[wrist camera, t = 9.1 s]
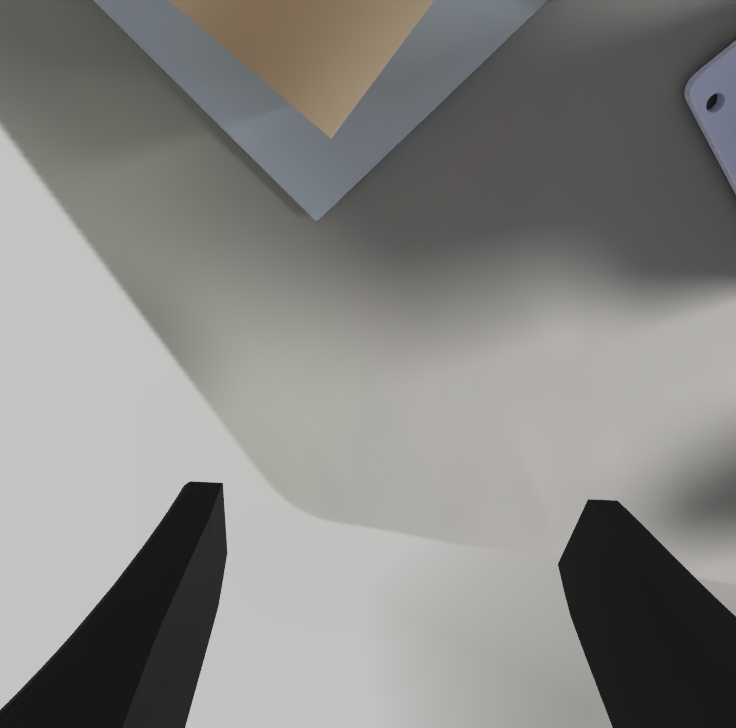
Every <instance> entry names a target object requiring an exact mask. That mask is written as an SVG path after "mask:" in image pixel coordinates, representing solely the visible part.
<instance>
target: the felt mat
mask: <svg viewBox="0 0 736 728" xmlns="http://www.w3.org/2000/svg"><path fill="white" fill-rule="evenodd" d="M93 1H94V2H95V3H96V4H97V5H98V6H99V7H100V8H101V9H102V10H103V11H104V12H105V13H106V14H107V15H108V16H109V17H110V18H111V19H113V20H114V21H115V22H116V23H117V24H118V25H119V26H120V27H121V28H122V29H123V30H124V31H125V32H126V33H127V34H128V35H129V36H130V37H131V38H132V39H133V40H134V41H135V42H136V43H137V44H138V45H139V46H140V47H141V48H142V49H143V50H144V51H145V52H146V53H147V54H148V55H149V56H150V57H151V58H152V59H153V60H154V61H155V62H156V63H157V64H158V65H159V66H160V67H161V68H162V69H163V70H164V71H165V72H166V73H167V74H168V75H169V76H170V77H171V78H172V79H173V80H174V81H175V82H176V83H177V84H178V85H179V86H180V87H181V88H182V89H183V90H184V91H185V92H186V93H187V94H188V95H189V96H190V97H191V98H192V99H193V100H194V101H195V102H196V103H197V104H198V105H199V106H200V107H201V108H202V109H203V110H204V111H205V112H206V113H207V114H208V115H209V116H210V117H211V118H212V119H213V120H214V121H215V122H216V123H217V124H218V125H219V126H220V127H221V128H222V129H223V130H224V131H225V132H226V133H227V134H228V135H229V136H230V137H231V138H232V139H233V140H234V141H235V142H236V143H237V144H238V145H239V146H240V147H241V148H242V149H243V150H244V151H246V152H247V153H248V154H249V155H250V156H251V157H252V158H253V159H254V160H255V161H256V162H257V163H258V164H259V165H260V166H261V167H262V168H263V169H264V170H265V171H266V172H267V173H268V174H269V175H270V176H271V177H272V178H273V179H274V180H275V181H276V182H277V183H278V184H279V185H280V186H281V187H282V188H283V189H284V190H285V191H286V192H287V193H288V194H289V195H290V196H291V197H292V198H293V199H294V200H295V201H296V202H297V203H298V204H299V205H300V206H301V207H302V208H303V209H304V210H305V211H306V212H307V213H308V214H309V215H310V216H311V217H312V218H313V219H314V220H315V221H316V222H317V221H318V220H319V219H320V218H321V217H322V216H323V215H324V214H325V213H327V212H328V211H329V210H330V209H331V208H332V207H333V206H334V205H335V204H336V203H337V202H338V201H339V200H340V199H341V198H342V197H343V196H344V195H345V194H346V193H347V192H348V191H349V190H351V189H352V188H353V187H354V186H355V185H356V184H357V183H358V182H359V181H360V180H361V179H362V178H363V177H364V176H365V175H366V174H367V173H368V172H369V171H370V170H371V169H372V168H373V167H374V166H376V165H377V164H378V163H379V162H380V161H381V160H382V159H383V158H384V157H385V156H386V155H387V154H388V153H389V152H390V151H391V150H392V149H393V148H394V147H395V146H396V145H397V144H398V143H400V142H401V141H402V140H403V139H404V138H405V137H406V136H407V135H408V134H409V133H410V132H411V131H412V130H413V129H414V128H415V127H416V126H417V125H418V124H419V123H420V122H421V121H422V120H424V119H425V118H426V117H427V116H428V115H429V114H430V113H431V112H432V111H433V110H434V109H435V108H436V107H437V106H438V105H439V104H440V103H441V102H442V101H443V100H444V99H445V98H446V97H448V96H449V95H450V94H451V93H452V92H453V91H454V90H455V89H456V88H457V87H458V86H459V85H460V84H461V83H462V82H463V81H464V80H465V79H466V78H467V77H468V76H469V75H470V74H471V73H473V72H474V71H475V70H476V69H477V68H478V67H479V66H480V65H481V64H482V63H483V62H484V61H485V60H486V59H487V58H488V57H489V56H490V55H491V54H492V53H493V52H494V51H495V50H497V49H498V48H499V47H500V46H501V45H502V44H503V43H504V42H505V41H506V40H507V39H508V38H509V37H510V36H511V35H512V34H513V33H514V32H515V31H516V30H517V29H518V28H519V27H521V26H522V25H523V24H524V23H525V22H526V21H527V20H528V19H529V18H530V17H531V16H532V15H533V14H534V13H535V12H536V11H537V10H538V9H539V8H540V7H541V6H542V5H543V4H544V3H546V2H547V1H548V0H434V1H433V3H432V4H431V5H430V7H429V8H428V9H427V11H426V12H425V14H424V15H423V16H422V18H421V19H420V20H419V22H418V23H417V24H416V26H415V27H414V28H413V30H412V31H411V32H410V34H409V35H408V36H407V38H406V39H405V40H404V42H403V43H402V44H401V46H400V47H399V48H398V50H397V51H396V52H395V54H394V55H393V57H392V58H391V59H390V61H389V62H388V63H387V65H386V66H385V67H384V69H383V70H382V71H381V73H380V74H379V75H378V77H377V78H376V79H375V81H374V82H373V83H372V85H371V86H370V87H369V89H368V90H367V91H366V93H365V94H364V96H363V97H362V98H361V100H360V101H359V102H358V104H357V105H356V106H355V108H354V109H353V110H352V112H351V113H350V114H349V116H348V117H347V118H346V120H345V121H344V122H343V124H342V125H341V126H340V128H339V129H338V130H337V132H336V133H335V134H334V136H333V137H332V139H331V138H330V137H329V136H327V135H326V134H325V133H324V132H323V131H321V130H320V129H319V128H318V127H317V126H316V125H314V124H313V123H312V122H311V121H310V120H309V119H307V118H306V117H305V116H304V115H303V114H302V113H300V112H299V111H298V110H297V109H296V108H295V107H293V106H292V105H291V104H290V103H289V102H287V101H286V100H285V99H284V98H283V97H282V96H280V95H279V94H278V93H277V92H276V91H275V90H273V89H272V88H271V87H270V86H269V85H268V84H266V83H265V82H264V81H263V80H262V79H260V78H259V77H258V76H257V75H256V74H255V73H253V72H252V71H251V70H250V69H249V68H248V67H246V66H245V65H244V64H243V63H242V62H241V61H239V60H238V59H237V58H236V57H235V56H233V55H232V54H231V53H230V52H229V51H228V50H226V49H225V48H224V47H223V46H222V45H221V44H219V43H218V42H217V41H216V40H215V39H214V38H212V37H211V36H210V35H209V34H208V33H207V32H205V31H204V30H203V29H202V28H201V27H199V26H198V25H197V24H196V23H195V22H194V21H192V20H191V19H190V18H189V17H188V16H187V15H185V14H184V13H183V12H182V11H181V10H180V9H178V8H177V7H176V6H175V5H174V4H172V3H171V2H170V1H169V0H93Z"/></svg>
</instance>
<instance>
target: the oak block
mask: <svg viewBox="0 0 736 728" xmlns="http://www.w3.org/2000/svg"><path fill="white" fill-rule="evenodd" d="M169 1H170V2H171V3H172V4H174V5H175V6H176V7H177V8H178V9H180V10H181V11H182V12H183V13H184V14H185V15H187V16H188V17H189V18H190V19H191V20H192V21H194V22H195V23H196V24H197V25H198V26H199V27H201V28H202V29H203V30H204V31H205V32H207V33H208V34H209V35H210V36H211V37H212V38H214V39H215V40H216V41H217V42H218V43H219V44H221V45H222V46H223V47H224V48H225V49H226V50H228V51H229V52H230V53H231V54H232V55H233V56H235V57H236V58H237V59H238V60H239V61H241V62H242V63H243V64H244V65H245V66H246V67H248V68H249V69H250V70H251V71H252V72H253V73H255V74H256V75H257V76H258V77H259V78H260V79H262V80H263V81H264V82H265V83H266V84H268V85H269V86H270V87H271V88H272V89H273V90H275V91H276V92H277V93H278V94H279V95H280V96H282V97H283V98H284V99H285V100H286V101H287V102H289V103H290V104H291V105H292V106H293V107H295V108H296V109H297V110H298V111H299V112H300V113H302V114H303V115H304V116H305V117H306V118H307V119H309V120H310V121H311V122H312V123H313V124H314V125H316V126H317V127H318V128H319V129H320V130H321V131H323V132H324V133H325V134H326V135H327V136H329V137H330V138H331V139H332V137H333V136H334V134H335V133H336V132H337V130H338V129H339V128H340V126H341V125H342V124H343V122H344V121H345V120H346V118H347V117H348V116H349V114H350V113H351V112H352V110H353V109H354V108H355V106H356V105H357V104H358V102H359V101H360V100H361V98H362V97H363V96H364V94H365V93H366V91H367V90H368V89H369V87H370V86H371V85H372V83H373V82H374V81H375V79H376V78H377V77H378V75H379V74H380V73H381V71H382V70H383V69H384V67H385V66H386V65H387V63H388V62H389V61H390V59H391V58H392V57H393V55H394V54H395V52H396V51H397V50H398V48H399V47H400V46H401V44H402V43H403V42H404V40H405V39H406V38H407V36H408V35H409V34H410V32H411V31H412V30H413V28H414V27H415V26H416V24H417V23H418V22H419V20H420V19H421V18H422V16H423V15H424V14H425V12H426V11H427V9H428V8H429V7H430V5H431V4H432V3H433V1H434V0H169Z"/></svg>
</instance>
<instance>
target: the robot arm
mask: <svg viewBox="0 0 736 728" xmlns="http://www.w3.org/2000/svg"><path fill="white" fill-rule="evenodd" d="M714 94H717V101H716V104H715V105H714V106H713V107H712V108H711V109H709V110H707V108H706V104H707V101H708V99H709V98H710V97H711V96H712V95H714ZM684 95H685V99H686V101H687V103H688V105H689V107H690V109H691V111H692V113H693V115H694V117H695V119H696V120H697V122H698V124H699V126H700V128H701V130H702V132H703V134H704V136H705V138H706V139H707V141H708V143H709V145H710V147H711V149H712V151H713V153H714V155H715V157H716V158H717V160H718V162H719V164H720V166H721V168H722V170H723V172H724V174H725V176H726V177H727V179H728V181H729V183H730V185H731V187H732V189H733V191H734V193H735V195H736V40H735V41H734V42H733V43H732V44H730V45H729V46H728V47H727V48H725V49H724V50H723V51H722V52H721V53H719V54H718V55H717V56H716V57H714V58H713V59H712V60H711V61H709V62H708V63H707V64H706V65H704V66H703V67H702V68H701V69H700V70H698V71H697V72H696V73H695V74H694V75H693V76H692V77H691V78H690V79H689V81H688V83H687V85H686V87H685V93H684ZM226 557H227V543H226V528H225V512H224V497H223V483H208V482H189V483H187V484H186V485H185V486H184V487H183V488H182V490H181V492H180V493H179V495H178V497H177V498H176V500H175V501H174V503H173V504H172V506H171V507H170V509H169V511H168V512H167V513H166V515H165V516H164V518H163V519H162V521H161V522H160V524H159V525H158V527H157V528H156V529H155V531H154V532H153V534H152V535H151V536H150V538H149V539H148V540H147V542H146V543H145V545H144V546H143V548H142V549H141V550H140V551H139V553H138V554H137V555H136V557H135V558H134V559H133V560H132V562H131V563H130V564H129V566H128V567H127V568H126V570H125V571H124V572H123V573H122V575H121V576H120V577H119V579H118V580H117V581H116V583H115V584H114V585H113V586H112V588H111V589H110V590H109V591H108V592H107V594H106V595H105V596H104V597H103V598H102V600H101V601H100V602H99V603H98V604H97V605H96V607H95V608H94V609H93V610H92V611H91V613H90V614H89V615H88V616H87V617H86V619H85V620H84V621H83V622H82V623H81V625H80V626H79V627H78V628H77V629H76V630H75V632H74V633H73V634H72V635H71V636H70V637H69V639H67V641H66V642H65V643H64V644H63V645H62V646H61V647H60V649H59V650H58V651H57V652H56V653H55V654H54V655H53V656H52V657H51V658H50V659H49V661H48V662H47V663H46V664H45V665H44V666H43V667H42V668H41V669H40V670H39V671H38V672H37V673H36V674H35V675H34V676H33V677H32V678H31V679H30V680H29V682H28V683H27V684H26V685H25V686H24V687H23V688H22V689H21V690H20V691H19V692H18V693H17V694H16V695H15V696H14V697H13V698H12V699H11V700H10V701H9V702H8V703H7V704H6V705H5V706H4V707H3V708H2V709H1V710H0V728H185V725H186V721H187V718H188V714H189V711H190V707H191V704H192V700H193V696H194V693H195V689H196V686H197V682H198V678H199V675H200V671H201V667H202V664H203V660H204V657H205V653H206V649H207V646H208V642H209V638H210V635H211V631H212V627H213V623H214V620H215V616H216V613H217V608H218V604H219V599H220V593H221V587H222V581H223V575H224V569H225V563H226ZM558 566H559V570H560V575H561V579H562V583H563V588H564V592H565V596H566V600H567V603H568V607H569V611H570V615H571V618H572V620H573V624H574V626H575V629H576V632H577V634H578V637H579V640H580V642H581V645H582V648H583V650H584V653H585V656H586V658H587V661H588V664H589V666H590V669H591V672H592V674H593V677H594V679H595V682H596V685H597V687H598V690H599V692H600V695H601V698H602V700H603V703H604V706H605V708H606V711H607V714H608V716H609V719H610V721H611V724H612V727H613V728H736V617H735V616H734V615H733V614H732V613H731V612H730V611H729V610H728V609H727V608H726V607H725V606H724V605H722V603H720V602H719V601H718V600H717V599H716V598H715V597H714V596H713V595H712V594H711V593H710V592H709V591H708V590H707V589H706V588H705V587H704V586H703V585H702V584H701V583H700V582H699V581H698V580H697V579H696V578H695V577H694V576H693V575H692V574H691V573H690V572H689V571H688V570H687V569H686V568H685V567H684V566H683V565H682V564H681V563H680V562H679V561H678V560H677V559H676V558H675V557H674V556H673V555H672V554H671V553H670V552H669V551H668V550H667V549H666V548H665V547H664V546H663V545H662V544H661V543H660V542H659V541H658V540H657V539H656V538H655V537H654V536H653V535H652V534H651V533H650V532H649V531H648V530H647V529H646V528H645V527H644V526H643V525H642V524H641V523H640V522H639V521H638V520H637V519H636V518H635V517H634V516H633V515H632V514H631V513H630V512H629V511H628V510H627V509H626V508H624V507H623V506H622V505H621V504H620V503H619V502H618V501H611V500H588V501H587V503H586V505H585V508H584V510H583V512H582V514H581V516H580V518H579V520H578V523H577V525H576V527H575V529H574V531H573V533H572V535H571V538H570V540H569V542H568V544H567V546H566V548H565V550H564V552H563V555H562V557H561V559H560V561H559V563H558Z"/></svg>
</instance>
